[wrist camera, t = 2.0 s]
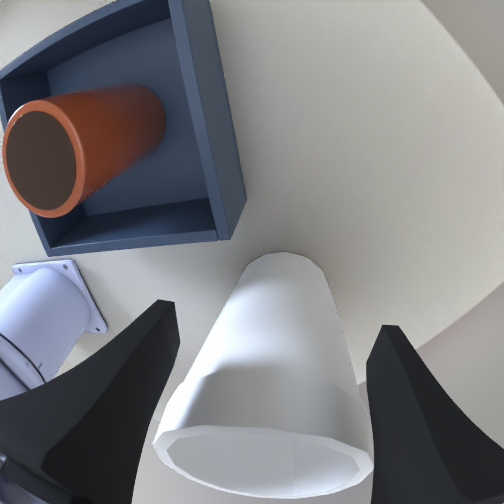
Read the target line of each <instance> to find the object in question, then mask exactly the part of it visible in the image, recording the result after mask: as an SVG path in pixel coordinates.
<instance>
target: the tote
mask: <svg viewBox="0 0 504 504" xmlns="http://www.w3.org/2000/svg"><path fill="white" fill-rule="evenodd" d="M121 83H138V84H141V85H143V86H145V87H147V88H148V89H150V90H151V91H152V92H153V93H154V94H155V95H156V96H157V97H158V99H159V101H160V102H161V104H162V107H163V110H164V113H165V123H166V124H165V132H164V136H163V139H162V141H161V143H160V145H159V146H158V148H157V149H156V150H155V152H154V153H153V154H151V155H150V156H149V157H147V158H146V159H144V160H143V161H141V162H140V163H138V164H136V165H135V166H133V167H132V168H130V169H129V170H127V171H126V172H124V173H123V174H121V175H120V176H118V177H117V178H115V179H114V180H112V181H111V182H110V183H108V184H107V185H105V186H104V187H102V188H101V189H100V190H98V191H97V192H95V193H94V194H93V195H91V196H90V197H88V198H87V199H86V200H84V201H83V202H82V203H80V204H79V205H78V206H76V207H75V208H74V209H72V210H71V211H70V212H68V213H67V214H65V215H63V216H60V217H55V218H47V217H43V216H40V215H37V214H35V213H33V212H32V211H30V210H29V209H28V210H29V212H30V215H31V218H32V220H33V223H34V225H35V228H36V230H37V232H38V235H39V237H40V239H41V242H42V244H43V246H44V249H45V251H46V253H47V255H48V257H53V256H62V255H72V254H82V253H91V252H101V251H112V250H122V249H132V248H143V247H153V246H164V245H175V244H186V243H197V242H208V241H218V240H230V239H231V237H232V235H233V232H234V230H235V227H236V225H237V222H238V220H239V217H240V215H241V212H242V210H243V207H244V205H245V202H246V200H247V197H246V192H245V186H244V181H243V176H242V170H241V165H240V160H239V154H238V149H237V144H236V138H235V133H234V128H233V122H232V117H231V112H230V106H229V101H228V96H227V90H226V85H225V80H224V75H223V69H222V64H221V59H220V54H219V48H218V43H217V38H216V33H215V28H214V22H213V17H212V12H211V7H210V2H209V0H117V1H115V2H112V3H110V4H108V5H106V6H104V7H102V8H100V9H98V10H96V11H94V12H92V13H90V14H88V15H86V16H84V17H82V18H80V19H78V20H76V21H74V22H73V23H71V24H69V25H67V26H65V27H64V28H62V29H60V30H59V31H57V32H55V33H54V34H52V35H50V36H49V37H47V38H45V39H44V40H42V41H41V42H39V43H38V44H36V45H35V46H33V47H32V48H30V49H29V50H27V51H26V52H24V53H23V54H22V55H20V56H19V57H17V58H16V59H15V60H13V61H12V62H11V63H9V64H8V65H7V66H5V67H4V68H3V69H1V70H0V117H1V121H2V126H3V130H4V133H5V130H6V127H7V124H8V122H9V120H10V119H11V117H12V116H13V114H14V113H15V112H16V111H17V110H18V109H19V108H20V107H21V106H23V105H24V104H26V103H28V102H30V101H34V100H38V99H42V98H46V97H50V96H54V95H59V94H63V93H68V92H73V91H78V90H83V89H89V88H95V87H101V86H107V85H114V84H121Z"/></svg>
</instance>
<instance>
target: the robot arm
mask: <svg viewBox="0 0 504 504" xmlns="http://www.w3.org/2000/svg"><path fill="white" fill-rule="evenodd" d="M12 270H13V272H14V274H15V277H14V278H13V279H12V280H11V281H10V282H9V283H8V284H7V285H6V286H5V287H4V288H3V289H2V290H1V291H0V504H131V503H132V496H133V490H134V484H135V479H136V474H137V469H138V465H139V461H140V457H141V453H142V448H143V445H144V441H145V438H146V434H147V431H148V427H149V424H150V421H151V418H152V416H153V413H154V411H155V408H156V406H157V404H158V401H159V399H160V397H161V394H162V392H163V390H164V387H165V385H166V383H167V380H168V378H169V376H170V373H171V371H172V369H173V366H174V363H175V359H176V356H177V352H178V349H179V345H180V337H179V331H178V324H177V318H176V311H175V304H174V302H171V301H165V300H159V299H158V300H157V301H156V302H155V303H153V304H152V305H151V306H150V307H149V308H148V309H147V310H145V311H144V312H143V313H142V314H141V315H140V316H139V317H138V318H137V319H135V320H134V321H133V322H132V323H131V324H130V325H129V326H128V327H126V328H125V329H124V330H123V331H122V332H121V333H119V334H118V335H117V336H116V337H115V338H113V339H112V340H111V341H110V342H108V343H107V344H106V345H105V346H103V347H102V348H101V349H100V350H98V351H97V352H96V353H94V354H93V355H92V356H90V357H89V358H87V359H86V360H84V361H83V362H81V363H80V364H78V365H77V366H75V367H74V368H72V369H70V370H69V371H67V372H65V373H63V374H61V375H60V376H58V377H56V378H54V376H55V375H56V373H57V372H58V370H59V368H60V367H61V365H62V364H63V362H64V361H65V359H66V357H67V356H68V354H69V353H70V351H71V350H72V348H73V347H74V345H75V344H76V342H77V341H78V339H79V338H80V336H81V335H82V333H83V332H92V333H106V332H107V331H108V328H107V326H106V324H105V322H104V321H103V319H102V317H101V315H100V313H99V311H98V309H97V307H96V305H95V303H94V302H93V300H92V298H91V296H90V294H89V292H88V290H87V288H86V285H85V283H84V281H83V279H82V277H81V275H80V273H79V271H78V269H77V266H76V264H75V263H74V261H72V260H59V261H48V262H37V263H27V264H16V265H14V266H13V267H12ZM366 377H367V393H368V400H369V408H370V416H371V424H372V431H373V440H374V474H373V488H372V498H371V504H502V503H504V449H503V448H502V447H501V446H499V445H498V444H497V443H496V442H494V441H493V440H492V439H491V438H489V437H488V436H487V435H486V434H485V433H484V432H483V431H481V430H480V429H479V428H478V427H477V426H476V425H475V424H474V423H473V422H472V421H471V420H470V419H469V418H468V417H467V416H466V415H465V414H464V413H463V412H462V410H461V409H460V408H459V407H458V406H457V405H456V404H455V403H454V402H453V400H452V399H451V398H450V397H449V396H448V394H446V392H445V391H444V389H443V388H442V387H441V386H440V384H439V383H438V382H437V380H436V379H435V378H434V376H433V375H432V373H431V372H430V371H429V369H428V368H427V366H426V365H425V364H424V362H423V361H422V359H421V358H420V356H419V355H418V354H417V352H416V351H415V349H414V348H413V346H412V345H411V343H410V342H409V340H408V339H407V337H406V336H405V334H404V333H403V331H402V330H401V329H400V327H399V326H396V325H382V327H381V330H380V332H379V335H378V337H377V339H376V342H375V344H374V346H373V349H372V351H371V353H370V356H369V358H368V360H367V362H366ZM53 378H54V379H53Z"/></svg>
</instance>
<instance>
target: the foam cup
mask: <svg viewBox="0 0 504 504" xmlns="http://www.w3.org/2000/svg"><path fill="white" fill-rule="evenodd" d="M152 446H153V447H154V449H155V451H156V452H157V454H158V456H159V457H160V459H161V460H162V461H163V463H165V464H166V465H168V466H169V467H171V468H172V469H174V470H175V471H177V472H178V473H180V474H182V475H183V476H185V477H186V478H188V479H191V480H193V481H196V482H199V483H201V484H204V485H207V486H210V487H212V488H215V489H218V490H221V491H226V492H231V493H236V494H241V495H247V496H253V497H262V498H304V497H312V496H319V495H325V494H331V493H334V492H337V491H340V490H343V489H345V488H348V487H351V486H353V485H356V484H358V483H360V482H361V481H362V480H363V479H364V478H365V477H366V476H367V475H368V474H369V473H370V472H371V471H372V470H373V469H374V455H373V441H372V428H371V422H370V419H369V416H368V413H367V410H366V407H365V404H364V402H363V401H362V400H361V398H360V394H359V390H358V386H357V382H356V378H355V374H354V371H353V367H352V363H351V359H350V356H349V352H348V349H347V345H346V341H345V338H344V334H343V331H342V327H341V324H340V321H339V317H338V314H337V310H336V307H335V304H334V300H333V297H332V294H331V291H330V288H329V285H328V283H327V280H326V277H325V275H324V272H323V270H322V269H320V268H319V267H318V266H317V265H316V264H315V263H313V262H312V261H311V260H310V259H309V258H307V257H303V256H300V255H296V254H293V253H289V252H280V253H271V254H265V255H263V256H261V257H259V258H258V259H256V260H254V261H252V262H251V263H249V264H248V265H247V267H246V268H245V270H244V272H243V273H242V275H241V276H240V278H239V280H238V282H237V283H236V285H235V287H234V289H233V291H232V292H231V294H230V296H229V298H228V300H227V302H226V304H225V306H224V307H223V309H222V311H221V313H220V315H219V317H218V319H217V321H216V322H215V324H214V326H213V328H212V330H211V332H210V334H209V335H208V337H207V339H206V341H205V343H204V345H203V347H202V349H201V350H200V352H199V354H198V356H197V358H196V360H195V362H194V364H193V365H192V367H191V369H190V371H189V373H188V375H187V377H186V379H185V380H184V382H183V383H181V384H180V385H179V386H178V388H177V389H176V391H175V392H174V394H173V396H172V397H171V399H170V400H169V402H168V403H167V406H166V409H165V411H164V414H163V417H162V420H161V423H160V425H159V428H158V431H157V434H156V437H155V439H154V442H153V445H152Z"/></svg>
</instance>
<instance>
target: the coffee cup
mask: <svg viewBox="0 0 504 504" xmlns="http://www.w3.org/2000/svg"><path fill="white" fill-rule="evenodd" d="M165 124H166V123H165V113H164V110H163V107H162V104H161V102H160V101H159V99H158V97H157V96H156V95H155V94H154V93H153V92H152V91H151V90H150V89H148V88H147V87H145V86H143V85H141V84H138V83H121V84H114V85H107V86H101V87H95V88H89V89H83V90H78V91H73V92H68V93H63V94H59V95H54V96H50V97H46V98H42V99H38V100H34V101H30V102H28V103H26V104H24V105H23V106H21V107H20V108H19V109H18V110H17V111H16V112H15V113H14V114H13V116H12V117H11V119H10V120H9V122H8V124H7V127H6V130H5V133H4V138H3V145H2V157H3V165H4V170H5V174H6V177H7V179H8V182H9V184H10V186H11V188H12V190H13V192H14V194H15V195H16V196H17V198H18V199H19V200H20V202H21V203H22V204H23V205H24V206H25V207H26V208H28V209H29V210H30V211H32V212H33V213H35V214H37V215H40V216H43V217H47V218H55V217H60V216H63V215H65V214H67V213H68V212H70V211H71V210H72V209H74V208H75V207H76V206H78V205H79V204H80V203H82V202H83V201H84V200H86V199H87V198H88V197H90V196H91V195H93V194H94V193H95V192H97V191H98V190H100V189H101V188H102V187H104V186H105V185H107V184H108V183H110V182H111V181H112V180H114V179H115V178H117V177H118V176H120V175H121V174H123V173H124V172H126V171H127V170H129V169H130V168H132V167H133V166H135V165H136V164H138V163H140V162H141V161H143V160H144V159H146V158H147V157H149V156H150V155H151V154H153V153H154V152H155V150H156V149H157V148H158V146H159V145H160V143H161V141H162V139H163V136H164V132H165Z"/></svg>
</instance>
